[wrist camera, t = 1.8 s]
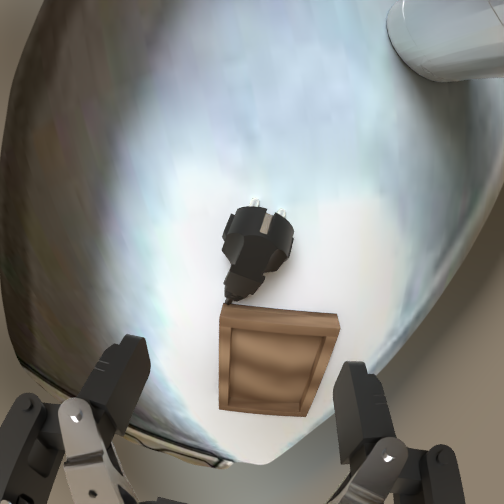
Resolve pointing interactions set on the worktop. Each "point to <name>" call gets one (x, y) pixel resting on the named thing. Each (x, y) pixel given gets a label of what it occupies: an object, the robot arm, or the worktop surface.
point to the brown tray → (272, 358)
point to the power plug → (254, 248)
